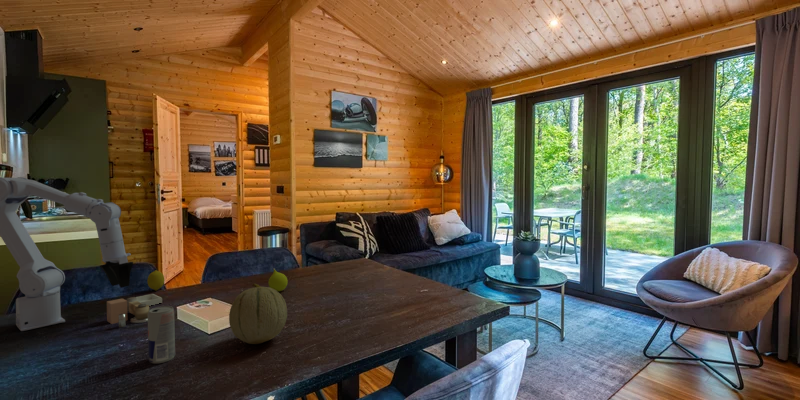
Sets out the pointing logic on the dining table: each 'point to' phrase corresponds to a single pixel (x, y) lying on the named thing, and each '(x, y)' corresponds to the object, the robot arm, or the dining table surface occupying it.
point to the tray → (149, 299)
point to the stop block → (116, 310)
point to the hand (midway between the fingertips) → (120, 285)
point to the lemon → (155, 280)
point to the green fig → (278, 281)
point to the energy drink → (161, 334)
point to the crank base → (123, 320)
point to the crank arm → (137, 308)
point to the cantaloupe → (257, 314)
